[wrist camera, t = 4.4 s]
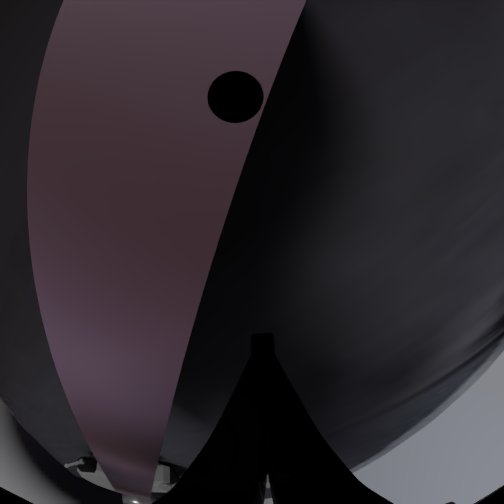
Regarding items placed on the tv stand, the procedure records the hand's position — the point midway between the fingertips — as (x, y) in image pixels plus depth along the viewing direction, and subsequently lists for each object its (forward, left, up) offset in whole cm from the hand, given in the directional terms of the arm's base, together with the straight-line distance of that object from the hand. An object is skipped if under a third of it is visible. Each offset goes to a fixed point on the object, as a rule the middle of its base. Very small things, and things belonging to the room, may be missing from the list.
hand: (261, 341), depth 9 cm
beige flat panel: (+3, -3, -3) cm, 5 cm away
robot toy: (+18, +30, -4) cm, 35 cm away
